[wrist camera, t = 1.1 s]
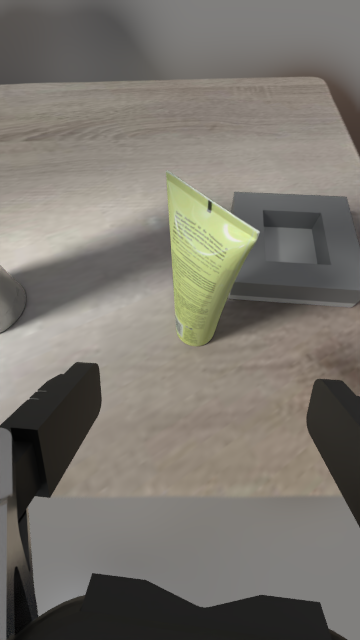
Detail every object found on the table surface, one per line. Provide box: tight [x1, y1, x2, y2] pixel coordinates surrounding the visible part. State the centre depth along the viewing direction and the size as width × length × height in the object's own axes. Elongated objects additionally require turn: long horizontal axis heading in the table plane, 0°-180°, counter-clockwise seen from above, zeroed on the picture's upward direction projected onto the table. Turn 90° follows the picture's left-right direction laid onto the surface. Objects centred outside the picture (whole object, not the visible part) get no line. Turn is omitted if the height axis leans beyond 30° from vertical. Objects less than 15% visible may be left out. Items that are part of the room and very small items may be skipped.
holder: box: [229, 192, 360, 307], centre depth 36 cm, size 16×16×4 cm
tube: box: [166, 171, 260, 346], centre depth 24 cm, size 6×5×20 cm
